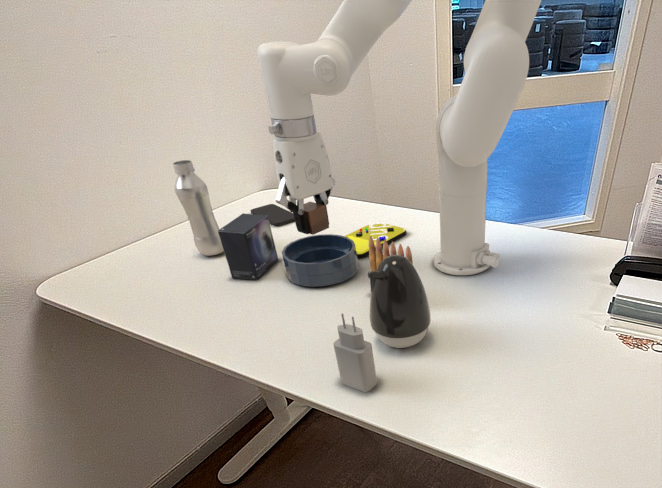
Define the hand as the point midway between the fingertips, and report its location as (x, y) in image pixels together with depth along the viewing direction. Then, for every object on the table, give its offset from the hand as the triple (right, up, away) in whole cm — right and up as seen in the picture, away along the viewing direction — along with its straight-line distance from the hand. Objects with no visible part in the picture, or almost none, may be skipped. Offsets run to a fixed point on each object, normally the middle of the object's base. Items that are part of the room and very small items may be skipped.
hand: (313, 227), depth 98 cm
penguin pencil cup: (+19, -25, -14) cm, 34 cm away
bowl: (+1, -7, +6) cm, 10 cm away
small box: (-15, -6, +9) cm, 18 cm away
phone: (-19, +15, +34) cm, 42 cm away
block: (0, 0, 0) cm, 0 cm away
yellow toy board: (+9, +3, +19) cm, 21 cm away
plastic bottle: (-28, 0, +16) cm, 32 cm away
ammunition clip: (+17, -16, -4) cm, 23 cm away
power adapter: (+13, -33, -23) cm, 42 cm away
